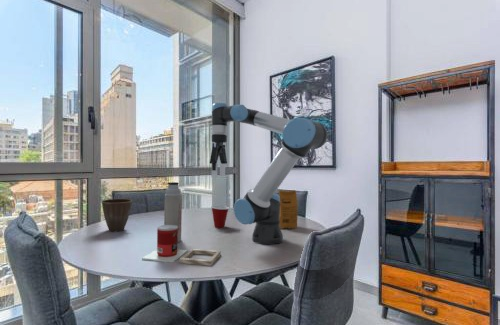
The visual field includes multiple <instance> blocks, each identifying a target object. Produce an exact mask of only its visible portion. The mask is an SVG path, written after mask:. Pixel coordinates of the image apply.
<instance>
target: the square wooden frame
mask: <svg viewBox="0 0 500 325" xmlns="http://www.w3.org/2000/svg"><path fill="white" fill-rule="evenodd" d="M221 252H222V251H221V250H211V249H199V248H198V249H197V248H191V249H190V250H189V251H187V252H186V253H185V254H184V255H182V256H181V257H180V258H178V263H179V264H190V265H199V266H210V267H211V266H212V265H213V264H214V262H216V260H217V259H218V258H220V256H221V255H222V254H221ZM194 254H196V255H206V256H211V257H210V258H209V259H200V258H199V259H198V258H191V257H192V256H193V255H194Z"/></svg>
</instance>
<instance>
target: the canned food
mask: <svg viewBox="0 0 500 325" xmlns="http://www.w3.org/2000/svg"><path fill="white" fill-rule="evenodd" d="M156 230H157V231H156V232H157V233H156V236H157V237H156V241H157V242H156V245H157V246H156V247H157V248H156V250H157V254H158V256H160V257H171V256H174V255H176V254H177V251H178V250H179V249H178V247H179V245H178V243H179V242H178V226H176V225H164V224H163V225H159V226H158V227H157V229H156Z"/></svg>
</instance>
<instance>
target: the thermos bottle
mask: <svg viewBox="0 0 500 325" xmlns="http://www.w3.org/2000/svg"><path fill="white" fill-rule="evenodd" d="M167 185H168V186H167V188H166V189H165V194H164V207H163V208H164V210H163V212H164V213H163V216H164V219H163V221H164V224H163V225H176V226H178V243H180V242H181V241H182V218H183V217H182V210H183V209H182V207H183V206H182V205H183V204H182V203H183V194H182V193H181V191H182V190H181V189H180V188H179V187H180V186H179V182H175V181H173V182H167Z"/></svg>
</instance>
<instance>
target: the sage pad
mask: <svg viewBox="0 0 500 325" xmlns="http://www.w3.org/2000/svg"><path fill="white" fill-rule="evenodd" d="M186 253H188V249H178V251H177V254H176V255H174V256H171V257H160V256H158V254H157V249H155V250H153V251H151V252H150V253H148V254H146V255H145V256H143V257H142V258H141V260H142V261H143V260H144V261H154V262H161V263H162V262H163V263H164V262H165V263H174V262H176V261H177V260H179V259H180V258H181V257H182V256H184V255H185V254H186Z"/></svg>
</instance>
